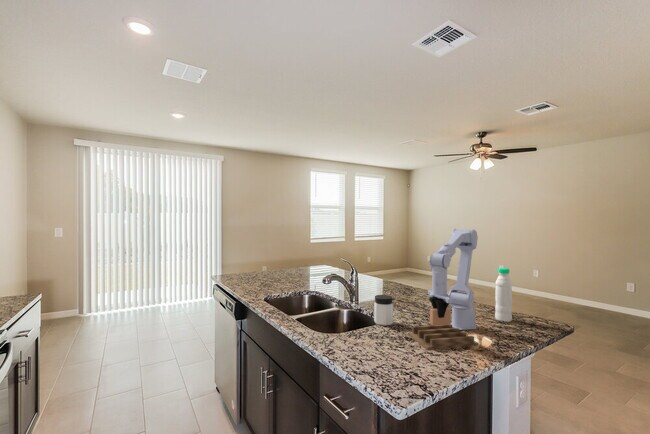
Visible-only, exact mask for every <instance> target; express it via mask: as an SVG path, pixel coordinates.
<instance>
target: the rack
mask: <svg viewBox="0 0 650 434" xmlns="http://www.w3.org/2000/svg"><path fill="white" fill-rule="evenodd" d="M407 336H408V337H410V338H411V339H413V340H414V341H415V342H416V343H418V344H420V346H422V347H423V348H424V349H426V350H435V349H436V350H437V349H449V348H451V349H452V348H462V347H472V346H480V345H479V342H478V341H476V340H475V336H473V335H467V332H466V331H460V330H459V328H453V327H452V324H447V325H431V324H429V325H418V326H417V325H414V326H412V329H411V332H407Z"/></svg>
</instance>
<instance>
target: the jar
mask: <svg viewBox="0 0 650 434" xmlns="http://www.w3.org/2000/svg"><path fill="white" fill-rule="evenodd" d="M393 301H394V300H393V296H391V295H389V294H377V295H374V302H373V303H374V304H373V305H374V306H373V307H374V308H373V321H374V323H375V324H376V325H379V326H389V325H390V326H391V325H393V324H394V303H393Z"/></svg>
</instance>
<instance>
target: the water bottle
mask: <svg viewBox="0 0 650 434" xmlns="http://www.w3.org/2000/svg"><path fill="white" fill-rule="evenodd" d="M497 273H498V277H497V279H496V280H495V282H494V284H495V293H494V294H495V296H494V298H495V308H494V309H495V312H494V313H495V314H494V318H495V320H496V321H499V322H503V321H504V323H510V322H512V320H513V313H512V312H513V308H512V307H513V306H512V303H513V289H512V287H513V283H512V281H511V278H510V277H509V275H510V269H509V268H506V267H498V269H497Z"/></svg>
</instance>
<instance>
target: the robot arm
mask: <svg viewBox="0 0 650 434" xmlns="http://www.w3.org/2000/svg"><path fill="white" fill-rule="evenodd" d="M450 236H451V238H450V239H449V241H448V242H446V243H443V245H442V246H441V247H440V248H439V249H438V251H437V252H433V253H432V254H430V257H429V262H428V263H429V266H430V270H431V271H430V272H431V278H432V279H431V289H428V290H427V295H428V296H431V297H428V300H429V301H430V303H431V306H432V309H437V310H438V317H439V318H444V315H445V312H446V309H447V308H449V305H450V307H451V324H452V328H459V331H463V330H464V331H465V330H477V329H478V328H477V327H476V326H477V325H476V323H477V322H476V317H477V316H476V311H475V309H474V308H473V306H474V305H475V297H474V296H475V292H474V290H472V288H471V287H469V280H470V275H471V266H472V265H471V264H472V257H473V250H476V249H477V246H478V238H479V236H478V232H477V231H476V229H459V228H458V229H456V228H454V229H453V230H452V231H451V234H450ZM456 248H458V249H459V250H460V253H459V259H458V260H459V261H458V269H457V276H456V277H457V278H456V283H455V284H454V285H452V286H450V288H449V292H448V268H449V267H450V265H451V261H452V258H453V256H454V255H455V254H456V253H457V250H456Z"/></svg>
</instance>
